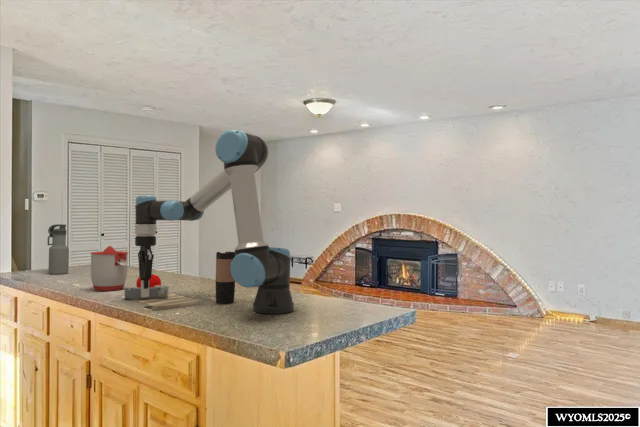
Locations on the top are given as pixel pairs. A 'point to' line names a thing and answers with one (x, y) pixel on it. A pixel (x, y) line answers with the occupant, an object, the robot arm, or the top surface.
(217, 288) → the travel mug
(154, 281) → the tomato
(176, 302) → the striped wooden cutting board
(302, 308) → the top surface
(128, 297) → the bar
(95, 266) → the citrus juicer
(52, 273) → the water bottle
